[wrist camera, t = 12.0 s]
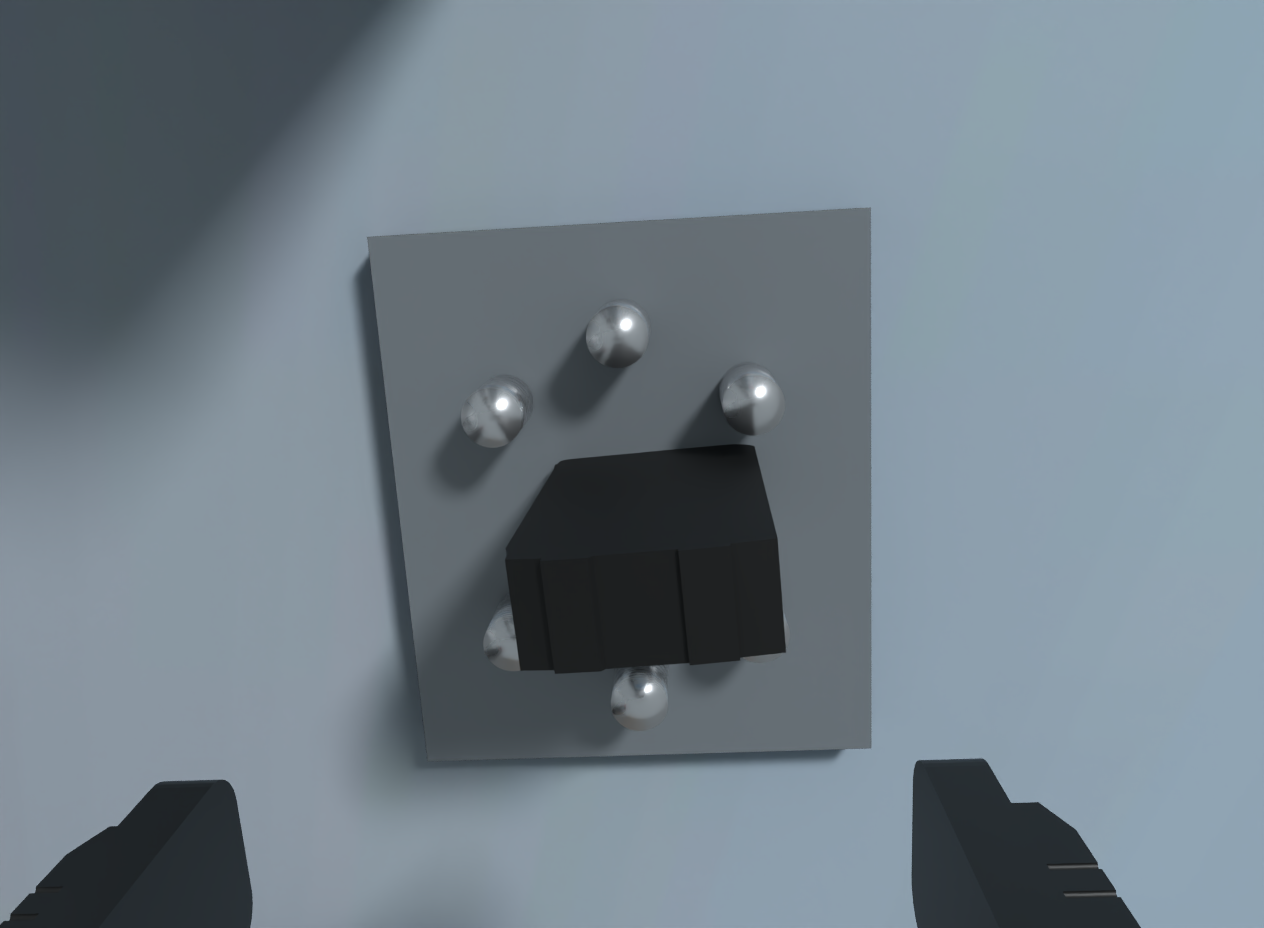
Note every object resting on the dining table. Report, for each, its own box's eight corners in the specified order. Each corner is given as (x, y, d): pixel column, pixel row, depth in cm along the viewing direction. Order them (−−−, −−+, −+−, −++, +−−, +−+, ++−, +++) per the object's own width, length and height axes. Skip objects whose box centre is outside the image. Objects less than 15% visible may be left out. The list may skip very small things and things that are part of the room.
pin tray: (437, 739, 29) (408, 802, 25) (381, 236, 25) (340, 238, 22) (863, 726, 28) (887, 789, 25) (861, 208, 25) (888, 206, 22)
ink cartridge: (567, 544, 26) (512, 683, 18) (557, 458, 25) (495, 563, 18) (760, 529, 25) (787, 666, 18) (753, 442, 25) (779, 543, 17)
